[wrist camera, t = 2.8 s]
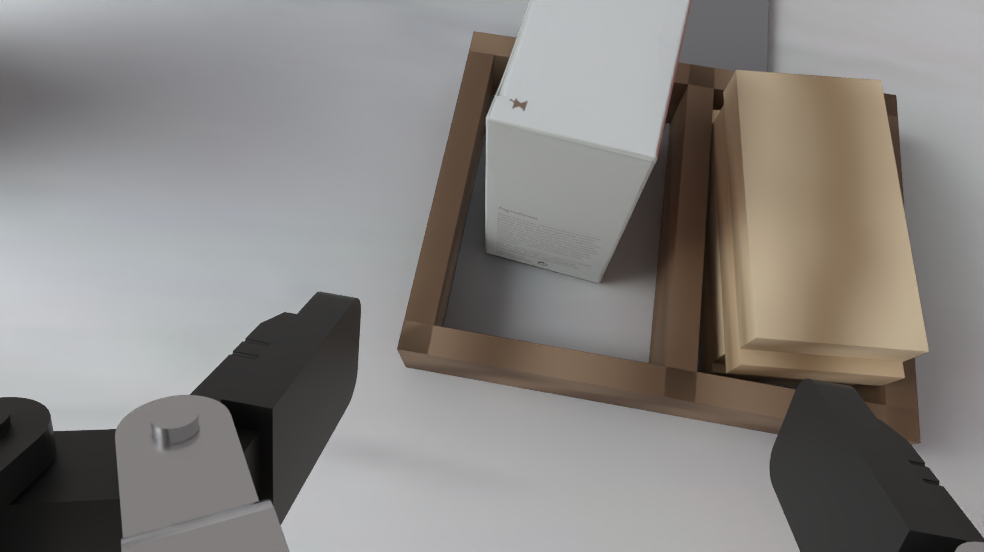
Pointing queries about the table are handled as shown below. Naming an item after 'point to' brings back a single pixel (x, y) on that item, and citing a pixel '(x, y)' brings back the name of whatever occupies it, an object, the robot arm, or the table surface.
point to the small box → (578, 128)
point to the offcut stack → (806, 236)
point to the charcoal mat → (727, 35)
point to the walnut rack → (678, 282)
